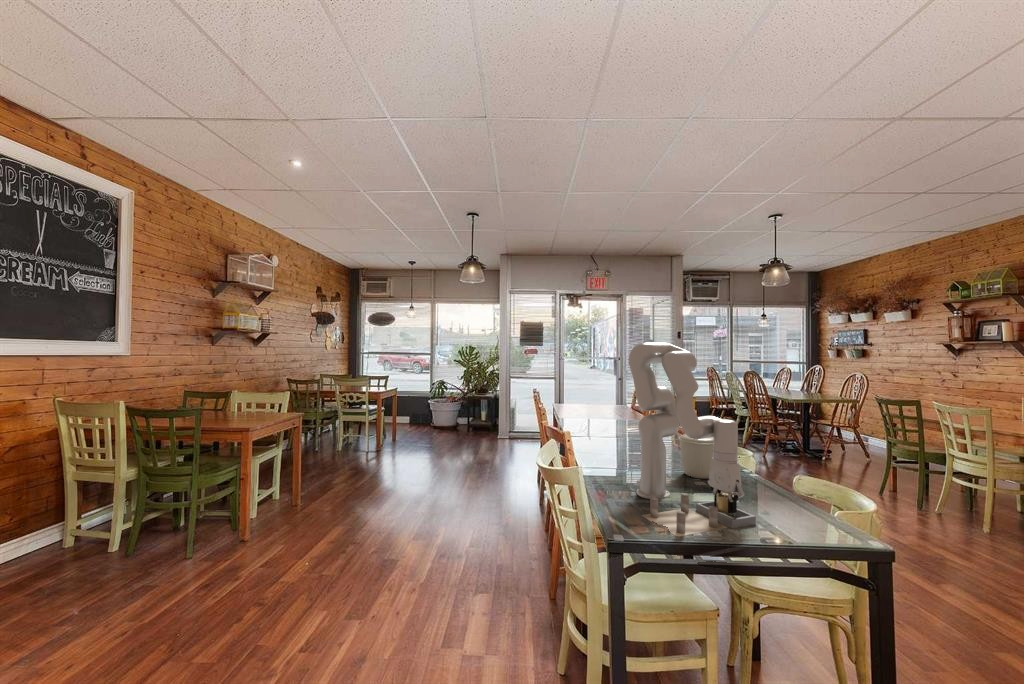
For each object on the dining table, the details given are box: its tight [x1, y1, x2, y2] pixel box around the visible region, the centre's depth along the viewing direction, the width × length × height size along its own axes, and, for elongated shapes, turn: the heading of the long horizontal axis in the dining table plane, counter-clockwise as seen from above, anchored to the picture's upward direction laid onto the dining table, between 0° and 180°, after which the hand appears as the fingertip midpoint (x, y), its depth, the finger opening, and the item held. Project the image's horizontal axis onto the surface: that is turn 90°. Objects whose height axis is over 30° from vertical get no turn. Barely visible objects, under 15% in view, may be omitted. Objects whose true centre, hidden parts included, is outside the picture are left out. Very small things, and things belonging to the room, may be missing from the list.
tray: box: [695, 500, 757, 529], centre depth 157 cm, size 16×10×4 cm, turn 21°
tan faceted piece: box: [716, 492, 734, 515], centre depth 157 cm, size 5×6×5 cm
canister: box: [678, 433, 713, 480], centre depth 208 cm, size 18×18×21 cm
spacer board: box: [640, 492, 729, 538], centre depth 153 cm, size 18×20×7 cm
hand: (725, 509), depth 157 cm, fingers closed on tan faceted piece, 5 cm apart
